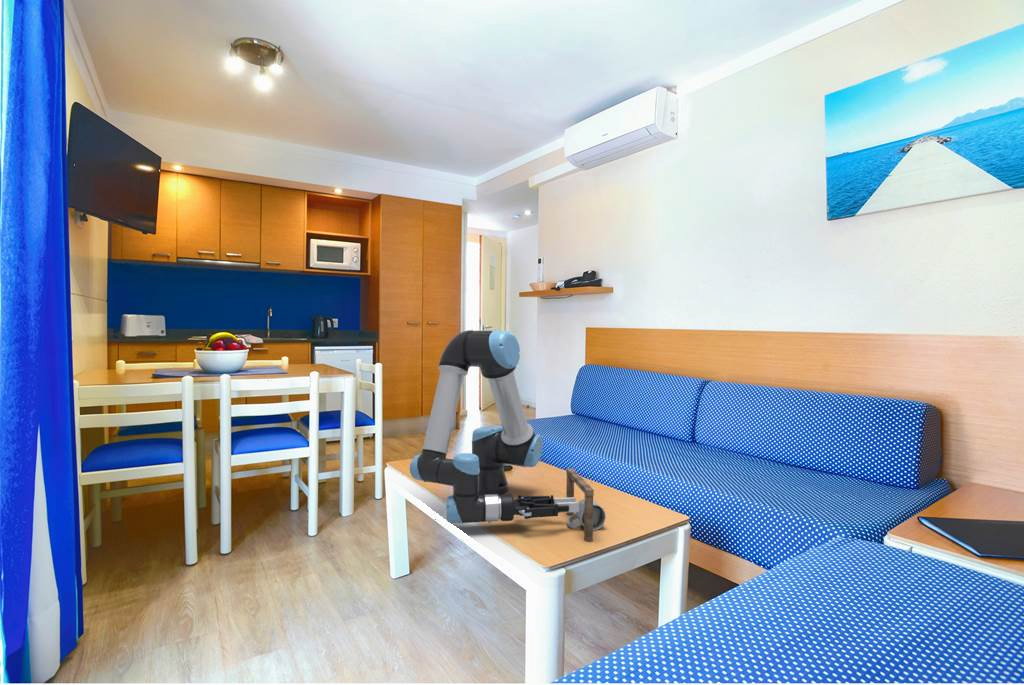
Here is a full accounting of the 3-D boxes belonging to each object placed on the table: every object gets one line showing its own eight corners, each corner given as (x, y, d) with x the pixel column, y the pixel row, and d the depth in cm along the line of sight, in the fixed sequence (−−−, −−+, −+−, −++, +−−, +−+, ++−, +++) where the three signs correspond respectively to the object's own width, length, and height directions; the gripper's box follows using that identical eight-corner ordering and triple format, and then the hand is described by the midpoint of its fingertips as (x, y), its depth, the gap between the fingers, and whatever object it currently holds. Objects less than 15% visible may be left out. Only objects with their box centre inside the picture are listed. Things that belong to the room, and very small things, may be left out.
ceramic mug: (596, 519, 152) (596, 495, 152) (606, 529, 144) (605, 503, 144) (563, 522, 150) (563, 497, 150) (571, 532, 142) (571, 506, 142)
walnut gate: (565, 512, 157) (565, 468, 157) (572, 512, 158) (573, 468, 158) (585, 541, 135) (586, 490, 135) (593, 541, 136) (594, 489, 135)
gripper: (496, 510, 151) (569, 507, 155) (502, 531, 135) (584, 527, 138) (496, 486, 151) (570, 483, 154) (502, 504, 135) (585, 501, 138)
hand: (576, 504), depth 146 cm, fingers open, 3 cm apart
